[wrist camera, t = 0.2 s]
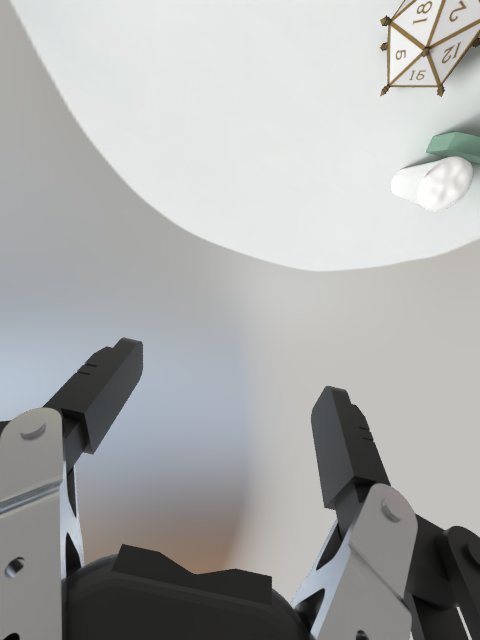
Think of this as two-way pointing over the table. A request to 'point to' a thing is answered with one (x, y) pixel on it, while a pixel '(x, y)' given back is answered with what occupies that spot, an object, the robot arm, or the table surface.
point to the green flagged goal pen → (456, 146)
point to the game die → (429, 41)
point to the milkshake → (434, 183)
